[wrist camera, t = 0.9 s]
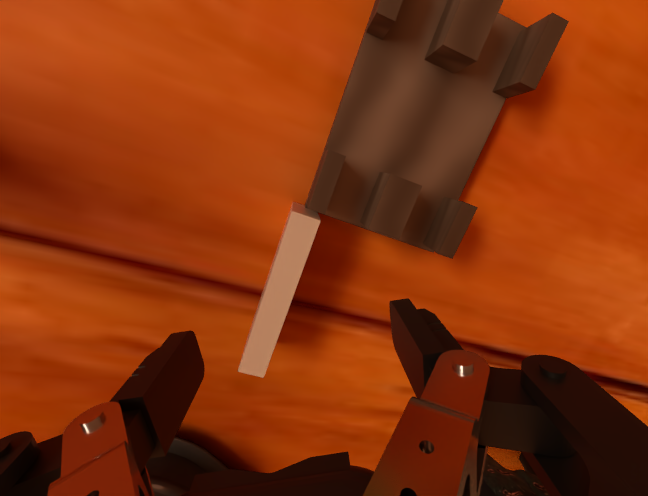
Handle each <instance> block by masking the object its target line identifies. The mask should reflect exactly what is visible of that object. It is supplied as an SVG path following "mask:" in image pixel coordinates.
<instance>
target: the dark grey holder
mask: <svg viewBox="0 0 648 496" xmlns="http://www.w3.org/2000/svg"><path fill="white" fill-rule="evenodd" d="M502 2H503V0H376V1H375V4H374V7H373V10H372V13H371V16H370V18H369V21H368V24H367V27H366V30H365V33H364V36H363V39H362V42H361V44H360V47H359V50H358V53H357V56H356V59H355V62H354V65H353V68H352V71H351V73H350V76H349V79H348V82H347V85H346V88H345V91H344V94H343V97H342V100H341V102H340V105H339V108H338V111H337V114H336V117H335V120H334V123H333V126H332V128H331V131H330V134H329V137H328V140H327V143H326V146H325V149H324V152H323V155H322V157H321V160H320V163H319V166H318V169H317V172H316V175H315V178H314V181H313V184H312V186H311V189H310V192H309V195H308V198H307V201H306V204H305V208H307V209H310V210H313V211H316V212H318V213H321V214H324V215H327V216H330V217H333V218H336V219H339V220H341V221H344V222H347V223H350V224H353V225H356V226H359V227H362V228H364V229H367V230H370V231H373V232H376V233H379V234H382V235H385V236H387V237H390V238H393V239H396V240H399V241H402V242H405V243H408V244H410V245H413V246H416V247H419V248H422V249H425V250H428V251H431V252H433V253H434V251H435V252H436V253H438V254H440V255H443V256H446V257H449V258H452V259H453V257H454V255H455V253H456V251H457V248H458V246H459V244H460V242H461V240H462V238H463V236H464V234H465V232H466V230H467V228H468V226H469V224H470V222H471V220H472V218H473V216H474V214H475V212H476V210H477V208H478V207H475V206H473V205H470V204H468V203H465V202H462V201H458V200H459V197H460V195H461V193H462V191H463V189H464V187H465V185H466V183H467V180H468V178H469V176H470V174H471V172H472V170H473V168H474V166H475V163H476V161H477V159H478V157H479V155H480V153H481V151H482V149H483V146H484V144H485V142H486V140H487V138H488V136H489V134H490V132H491V129H492V127H493V125H494V123H495V121H496V119H497V117H498V115H499V112H500V110H501V108H502V106H503V104H504V102H505V100H506V98H509V97H512V96H515V95H519V94H522V93H525V92H529V91H532V90H535V89H536V87H537V85H538V83H539V81H540V79H541V77H542V75H543V73H544V71H545V69H546V67H547V65H548V63H549V61H550V59H551V56H552V54H553V52H554V50H555V48H556V46H557V44H558V42H559V40H560V38H561V36H562V34H563V32H564V30H565V28H566V26H567V24H568V22H569V21H567V20H565V19H563V18H562V17H560V16H558V15H556V14H554V13H551V14H550V15H548V16H546V17H545V18H543V19H541V20H539V21H538V22H536V23H534V24H533V25H531V26H529V27H527V28H526V27H524V26H522V25H520V24H518V23H516V22H515V21H513V20H511V19H509V18H507V17H505V16H503V15H501V14H499V13H498V11H499V9H500V7H501V5H502Z"/></svg>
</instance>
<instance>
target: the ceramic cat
mask: <svg viewBox="0 0 648 496" xmlns="http://www.w3.org/2000/svg"><path fill="white" fill-rule="evenodd" d="M519 460H520V461H521V463H522V465H523V467H524V469H525V471H524V470H521V469H520V470H515V471H511V470H507V469H505V468H504V467H502V466H501V465H500V464H499V463H497V462H496V461H495V460H494V459H493V458H492V457H490V456H489V455H488V454H487V455H486V461H485V467H484V473H483V478H482V484H481V490H480V496H550V495H549V493H548V492H547V490H546V489H545V487H544V486H543V484H542V483H541V481H540V480H539V478H538V477H537V475H536V474H535V472H534V471H533V469H532V467H531V466H530V464H529V463H528V461H527V460H526V458H525V457H524V455H523V454H522V453H521V455H520V458H519Z"/></svg>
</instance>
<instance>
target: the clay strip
mask: <svg viewBox="0 0 648 496" xmlns="http://www.w3.org/2000/svg"><path fill="white" fill-rule="evenodd" d="M320 222H321V220H320V217H319V215H318V212H316V211H313V210H310V209H307V208H305V206H304V205H302V204H299V203H296V202H293V203H292V206H291V209H290V212H289V215H288V218H287V221H286V224H285V227H284V230H283V233H282V236H281V239H280V242H279V245H278V248H277V251H276V254H275V257H274V260H273V263H272V266H271V269H270V272H269V275H268V278H267V281H266V283H265V286H264V289H263V292H262V295H261V298H260V301H259V304H258V307H257V310H256V313H255V316H254V319H253V322H252V325H251V328H250V331H249V334H248V337H247V341H246V344H245V348H244V351H243V355H242V358H241V362H240V365H239V369H238V372H242V373H246V374H250V375H254V376H258V377H262V378H264V375H265V373H266V370H267V367H268V364H269V362H270V359H271V356H272V353H273V351H274V348H275V345H276V342H277V340H278V337H279V334H280V331H281V329H282V326H283V323H284V320H285V318H286V315H287V312H288V309H289V307H290V304H291V301H292V298H293V296H294V293H295V290H296V287H297V285H298V282H299V279H300V276H301V274H302V271H303V268H304V265H305V263H306V260H307V257H308V254H309V252H310V249H311V246H312V243H313V241H314V238H315V235H316V232H317V230H318V227H319V224H320Z"/></svg>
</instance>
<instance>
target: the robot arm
mask: <svg viewBox="0 0 648 496" xmlns="http://www.w3.org/2000/svg"><path fill="white" fill-rule="evenodd" d="M390 317H391V329H392V338H393V343H394V347H395V350H396V352H397V355H398V357H399V359H400V361H401V363H402V366H403V368H404V370H405V372H406V375H407V377H408V379H409V381H410V383H411V386H412V388H413V390H414V392H415V394H416V397H417V398H416V397H412V398H411V399H410V400H409V402H408V404H407V406H406V408H405V410H404V412H403V414H402V416H401V418H400V420H399V422H398V424H397V426H396V428H395V431H394V433H393V435H392V437H391V439H390V441H389V443H388V445H387V447H386V449H385V451H384V453H383V455H382V457H381V459H380V461H379V463H378V465H377V467H376V469H375V472H374V471H371V470H369V469H366V468H362V467H358V466H352V465H350V461H349V455H348V452H342V453H336V454H329V455H323V456H316V457H310V458H308V459H305V460H303V461H300V462H298V463H296V464H293V465H291V466H288V467H286V468H283V469H281V470H278V471H276V472H273V473H260V472H252V471H243V470H235V469H231V470H224V471H217V472H211V473H204V474H198V475H195V477H194V479H193V482H192V485H191V488H190V490H189V491H188V492H186V493H184V494H182V495H180V496H480V490H481V484H482V478H483V473H484V467H485V461H486V455H487V449H488V446H489V447H496V448H502V449H509V450H516V451H521V452H522V454H523V455H524V457H525V458H526V460H527V461H528V463H529V464H530V466H531V467H532V469H533V471H534V472H535V474H536V475H537V477H538V478H539V480H540V481H541V483H542V484H543V486H544V487H545V489H546V490H547V492H548V493H549V495H550V496H648V426H647V425H645V424H644V423H643V422H642V421H641V420H639V419H638V418H637V417H636V416H635V415H633V414H632V413H631V412H630V411H629V410H628V409H626V408H625V407H624V406H623V405H622V404H620V403H619V402H618V401H617V400H616V399H614V398H613V397H612V396H611V395H610V394H609V393H607V392H606V391H605V390H604V389H603V388H601V387H600V386H599V385H598V384H597V383H596V382H594V381H593V380H592V379H591V378H590V377H588V376H587V375H586V374H585V373H584V372H582V371H581V370H580V369H579V368H578V367H576V366H575V365H573V364H571V363H570V362H568V361H565V360H563V359H560V358H557V357H553V356H548V355H533V356H529V357H527V358H525V359H524V360H523V361H522V365H521V370H516V369H503V368H495V367H490V366H489V365H488V363H487V362H486V360H485V359H483V358H482V357H481V356H479V355H477V354H475V353H473V352H470V351H465V350H463V349H462V347H461V346H460V345H459V344H458V342H457V341H456V340H455V339H454V337H453V336H452V335H451V334H450V332H449V331H448V330H446V328H445V326H444V325H443V324H442V323H441V321H440V320H439V319H438V318H437V316H436V315H435V314H433V313H432V312H430V311H428V310H426V309H416V308H415V306H414V305H413V304H412V302H411V301H410V300H409V299H408V298H407V299H401V300H394V301H390ZM203 377H204V362H203V359H202V355H201V352H200V349H199V346H198V342H197V339H196V336H195V334H194V332H193V331H185V332H178V333H172V334H171V335H170V336H169V337H168V338H167V339H166V341H165V342H164V343H163V344H162V346H161V347H160V348H158V349H156V350H155V351H154V352H152V353H151V354H150V355H148V356H147V357H146V358H145V359H144V361H143V362H142V363H141V364H140V365H139V368H137V369H136V370H135V371H134V373H133V374H132V377H129V379H128V380H127V381H126V382H125V383H124V385H123V386H122V387H121V388H120V389H119V391H118V392H117V393H116V394H115V396H114V397H113V398H112V399H111V400H110V402H106V403H102V404H99V405H96V406H94V407H92V408H90V409H88V410H86V411H85V412H83V413H82V414H80V415H79V416H78V417H76V418H75V419H74V420H73V421H72V422H71V423H70V424H69V425H68V426H67V427H66V429H65V431H64V433H63V434H62V435H59V436H57V437H54V438H51V439H48V440H46V441H43V442H40V443H38V444H37V443H36V441H35V439H34V437H33V435H32V434H31V433H30V432H26V431H24V432H18V433H14V434H11V435H9V436H6V437H4V438H2V439H0V496H154V492H153V488H152V485H151V481H150V477H149V473H148V471H147V468H146V466H145V465H146V463H147V462H148V460H149V459H150V458H156V457H163V456H166V454H167V452H168V450H169V448H170V446H171V444H172V442H173V440H174V438H175V435H176V433H177V431H178V429H179V427H180V425H181V423H182V421H183V419H184V417H185V415H186V413H187V411H188V409H189V407H190V405H191V403H192V401H193V399H194V396H195V394H196V392H197V390H198V388H199V386H200V384H201V382H202V380H203Z"/></svg>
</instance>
